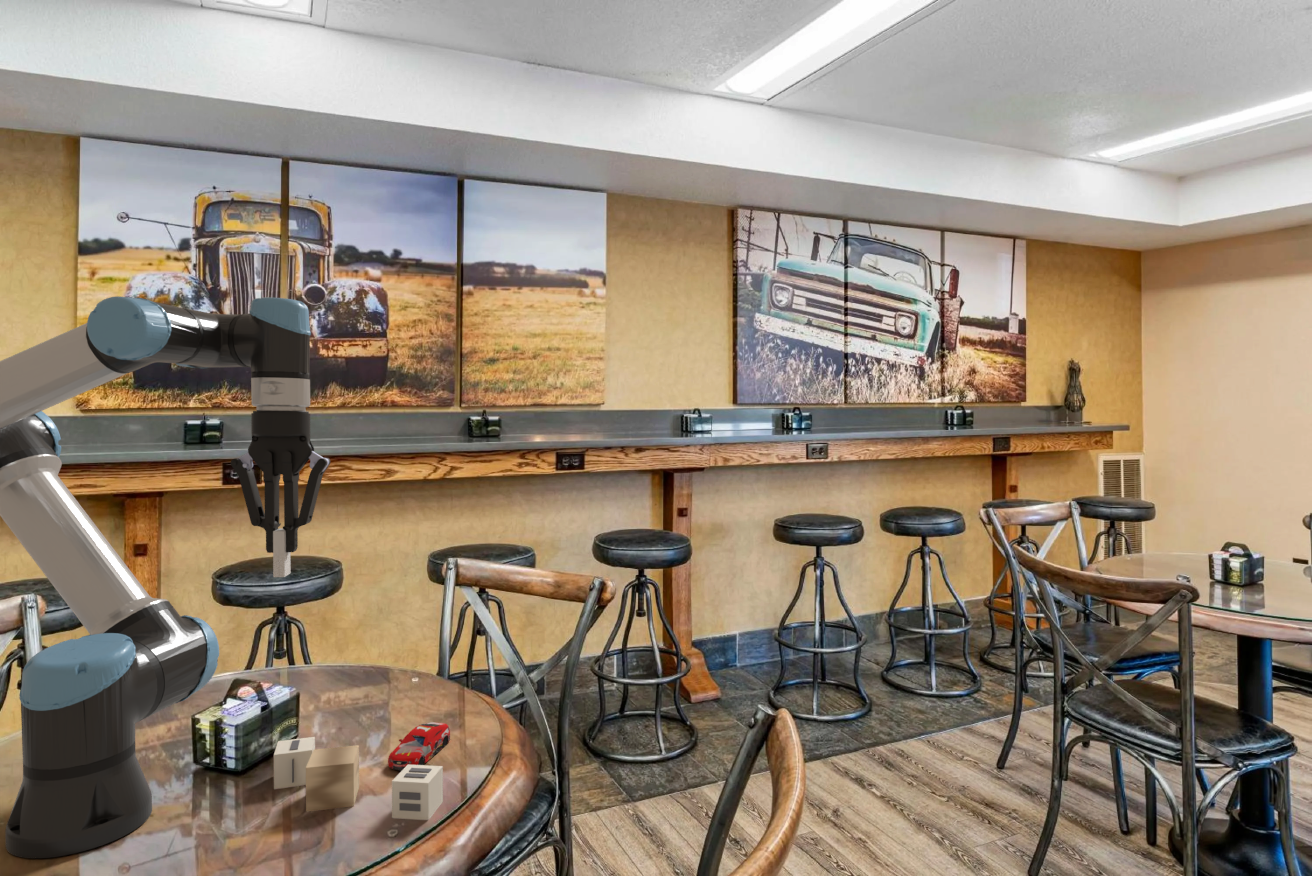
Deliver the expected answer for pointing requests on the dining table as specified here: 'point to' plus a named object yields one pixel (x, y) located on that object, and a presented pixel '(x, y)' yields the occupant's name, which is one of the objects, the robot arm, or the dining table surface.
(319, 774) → the plain block
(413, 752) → the race car
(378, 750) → the dining table surface
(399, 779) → the marked block
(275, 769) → the marked block
